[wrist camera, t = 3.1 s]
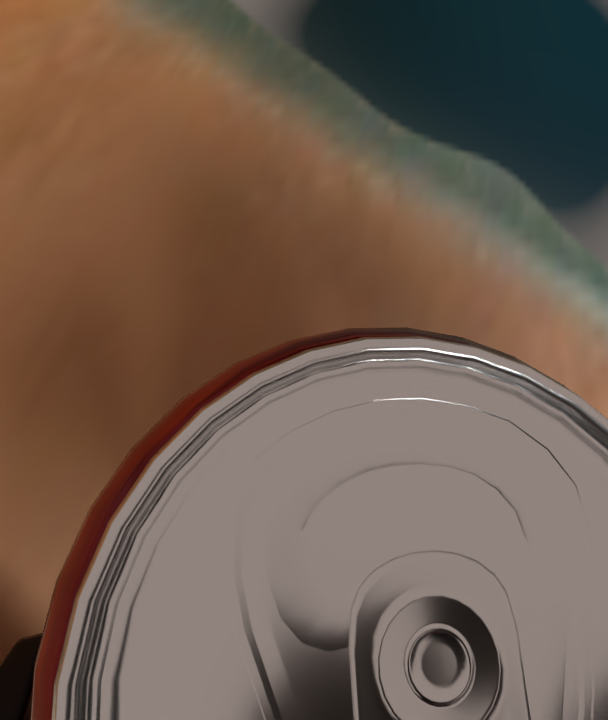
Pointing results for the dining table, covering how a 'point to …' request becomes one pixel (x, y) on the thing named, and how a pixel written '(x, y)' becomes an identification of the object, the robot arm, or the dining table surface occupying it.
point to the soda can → (345, 546)
